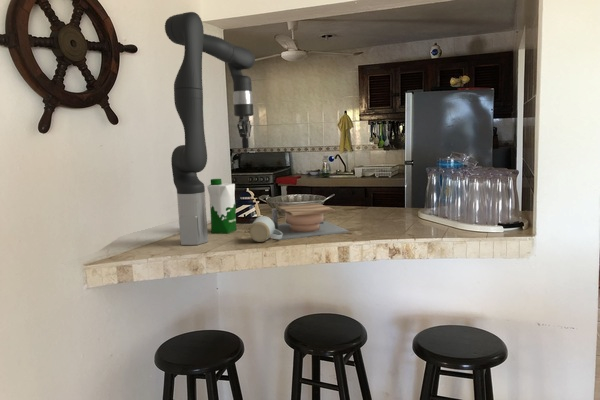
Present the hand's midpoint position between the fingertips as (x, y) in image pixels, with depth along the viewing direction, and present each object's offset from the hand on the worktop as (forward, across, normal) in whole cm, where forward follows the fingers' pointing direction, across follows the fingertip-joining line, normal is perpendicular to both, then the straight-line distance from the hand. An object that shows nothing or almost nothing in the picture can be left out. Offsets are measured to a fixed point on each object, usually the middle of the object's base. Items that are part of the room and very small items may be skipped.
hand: (245, 148), depth 181 cm
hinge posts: (+31, -5, -21) cm, 38 cm away
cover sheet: (+23, -13, -25) cm, 36 cm away
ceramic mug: (+31, -28, -13) cm, 44 cm away
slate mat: (+31, -10, -23) cm, 40 cm away
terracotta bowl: (+31, -12, -24) cm, 41 cm away
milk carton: (+31, -12, +7) cm, 34 cm away
